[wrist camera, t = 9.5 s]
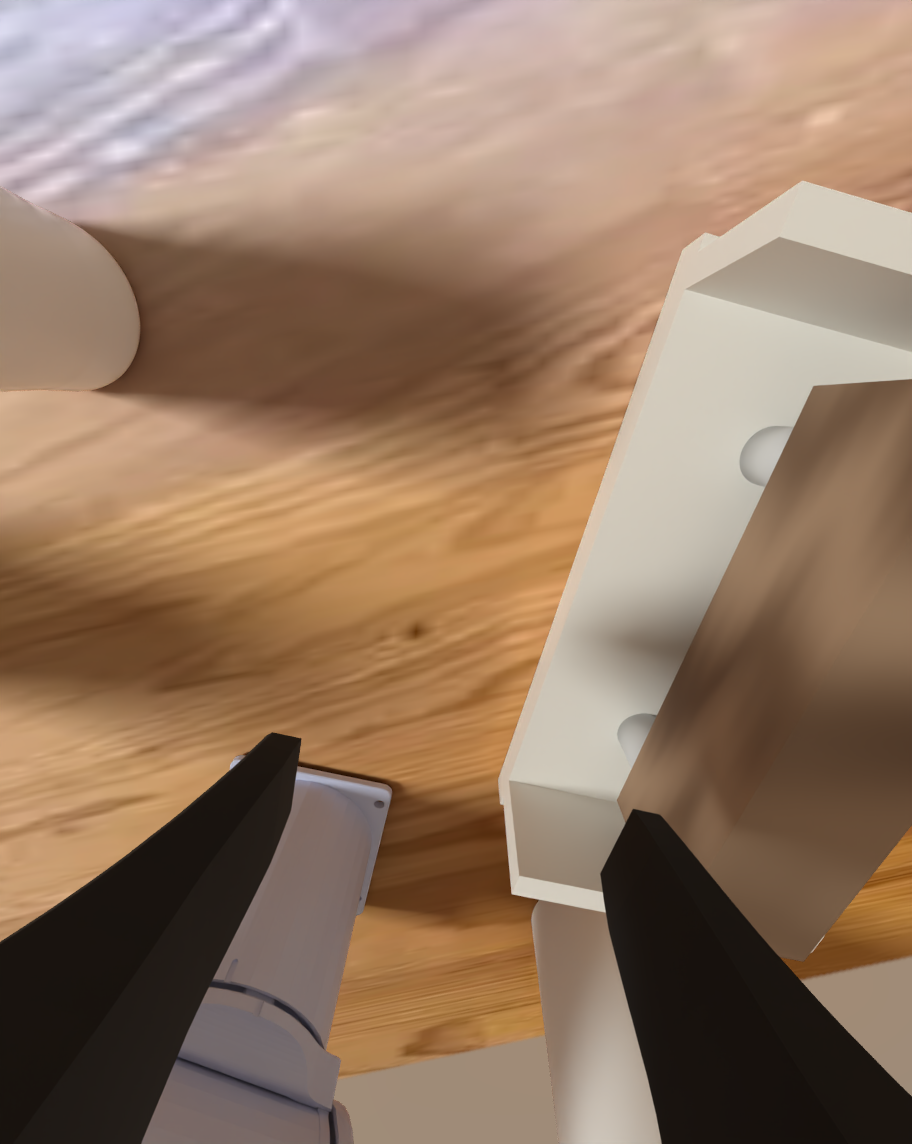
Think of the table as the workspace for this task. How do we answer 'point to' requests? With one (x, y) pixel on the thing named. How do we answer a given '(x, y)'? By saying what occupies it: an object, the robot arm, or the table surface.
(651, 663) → the shelf stand
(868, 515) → the brown wooden bar
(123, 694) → the table surface
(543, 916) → the cylindrical container
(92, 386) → the drinking glass
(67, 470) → the table surface
